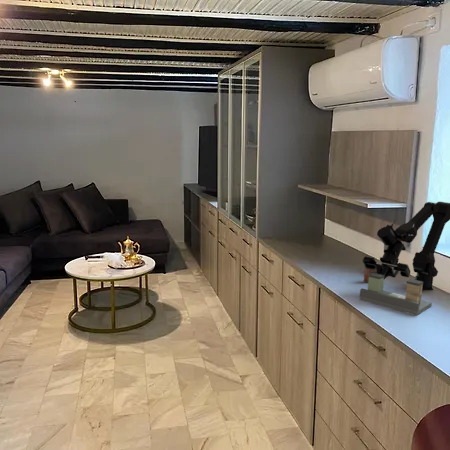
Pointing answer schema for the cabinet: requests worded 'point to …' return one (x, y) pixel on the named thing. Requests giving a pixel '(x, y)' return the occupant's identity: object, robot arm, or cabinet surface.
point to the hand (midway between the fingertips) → (378, 283)
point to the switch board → (394, 301)
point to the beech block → (414, 290)
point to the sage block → (376, 282)
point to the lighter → (366, 274)
